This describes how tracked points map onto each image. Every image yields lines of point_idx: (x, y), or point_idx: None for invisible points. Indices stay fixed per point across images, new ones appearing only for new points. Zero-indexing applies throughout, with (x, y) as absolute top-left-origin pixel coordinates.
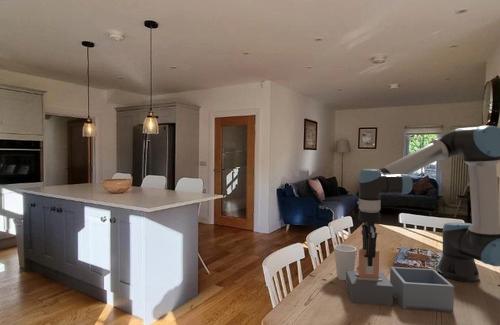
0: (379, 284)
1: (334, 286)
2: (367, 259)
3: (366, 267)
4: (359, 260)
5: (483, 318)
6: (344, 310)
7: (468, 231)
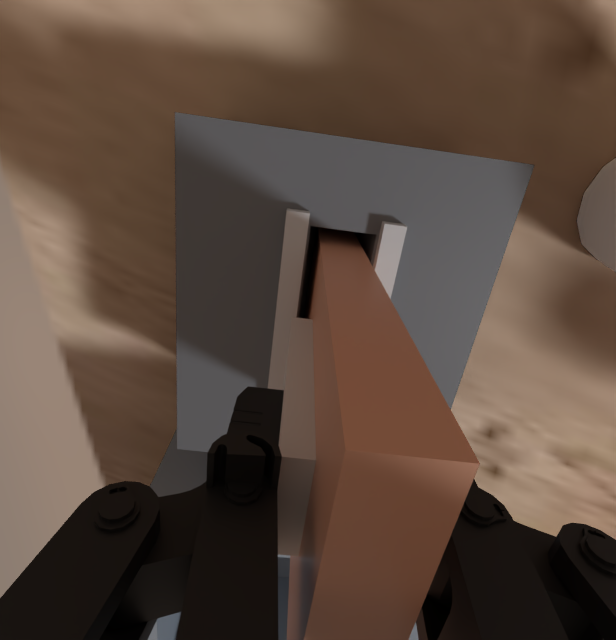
0: (195, 372)
1: (499, 56)
2: (278, 443)
3: (288, 360)
4: (331, 318)
5: None
6: (91, 21)
7: None
